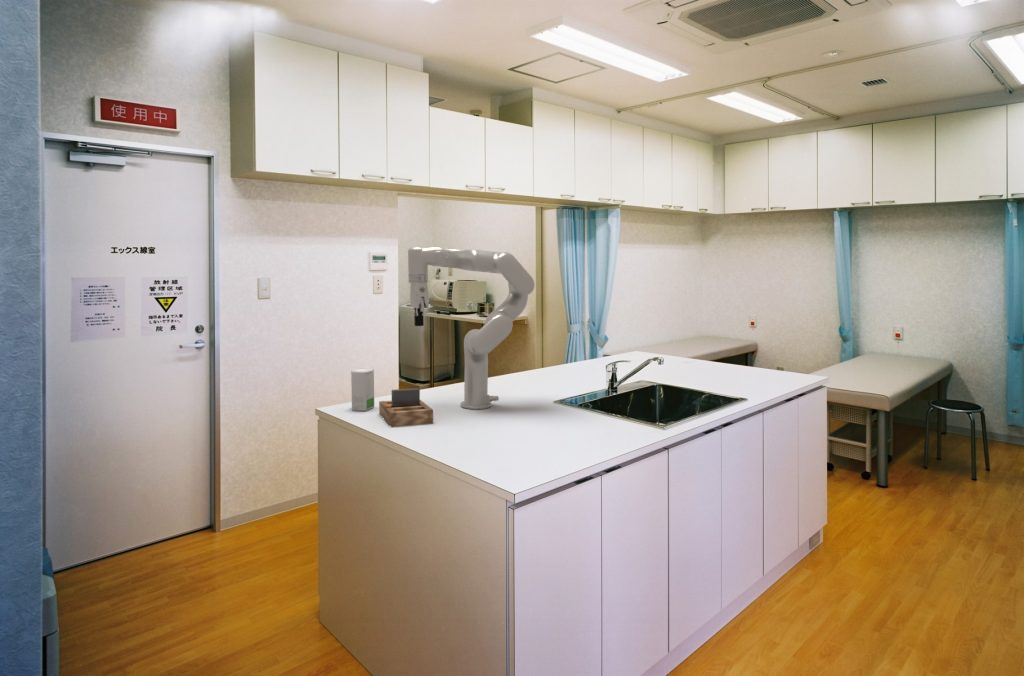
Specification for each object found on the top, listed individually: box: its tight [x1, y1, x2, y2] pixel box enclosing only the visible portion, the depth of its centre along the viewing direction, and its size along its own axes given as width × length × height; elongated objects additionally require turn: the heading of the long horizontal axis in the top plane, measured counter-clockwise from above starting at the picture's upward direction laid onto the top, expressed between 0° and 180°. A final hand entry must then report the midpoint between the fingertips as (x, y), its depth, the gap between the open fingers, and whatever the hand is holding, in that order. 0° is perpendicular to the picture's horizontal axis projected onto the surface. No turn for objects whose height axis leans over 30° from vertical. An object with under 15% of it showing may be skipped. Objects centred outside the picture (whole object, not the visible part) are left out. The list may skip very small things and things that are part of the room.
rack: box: [378, 399, 434, 428], centre depth 228 cm, size 16×20×6 cm
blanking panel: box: [391, 388, 421, 408], centre depth 228 cm, size 10×2×9 cm, turn 113°
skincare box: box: [350, 368, 375, 412], centre depth 242 cm, size 8×7×16 cm
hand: (419, 325), depth 241 cm, fingers closed
